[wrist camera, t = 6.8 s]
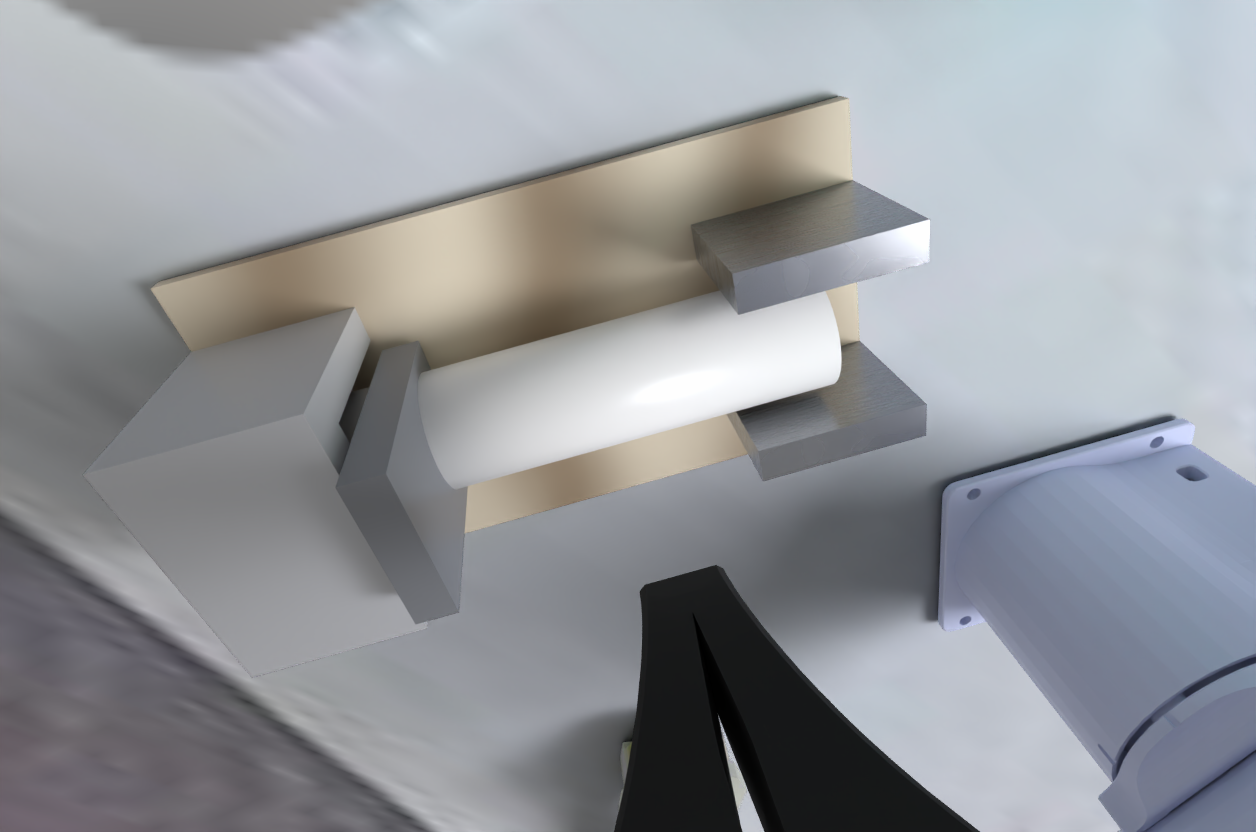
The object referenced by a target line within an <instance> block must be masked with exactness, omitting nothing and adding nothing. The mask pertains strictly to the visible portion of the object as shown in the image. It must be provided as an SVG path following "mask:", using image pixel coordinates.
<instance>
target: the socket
mask: <svg viewBox="0 0 1256 832" xmlns="http://www.w3.org/2000/svg"><path fill="white" fill-rule="evenodd" d="M370 341H371V340H370V338H369V336H368V334H367V332H366V330H365V328H364V325H363V323H362V321H361V319H360V317H359V315H358V313H357V311H356V309H355V307H353V308H350V309H346V310H342V311H339V312H335V313H331V314H328V315H324V316H320V317H317V318H313V319H309V320H306V321H302V322H298V323H295V324H291V325H287V326H284V327H280V328H277V329H273V330H269V331H266V332H262V333H258V334H255V335H251V336H247V337H244V338H240V339H236V340H233V341H229V342H225V343H222V344H218V345H215V346H211V347H207V348H204V349H200V350H196V351H193V352H191V353H190V354H189V355H188V356H187V357H186V358H185V359H184V361H183V362H182V363H181V364H180V365H179V366H178V367H177V368H176V370H175V371H174V372H173V373H172V374H171V375H170V376H169V378H168V379H167V380H166V381H165V382H164V383H163V384H162V385H161V387H160V388H159V389H158V390H157V391H156V392H155V393H154V395H153V396H152V397H151V398H150V399H149V400H148V401H147V402H146V404H145V405H144V406H143V407H142V408H141V409H140V410H139V411H138V413H137V414H136V415H135V416H134V417H133V418H132V419H131V421H130V422H129V423H128V424H127V425H126V426H125V427H124V428H123V430H122V431H121V432H120V433H119V434H118V435H117V436H116V437H115V439H114V440H113V441H112V442H111V443H110V444H109V445H108V447H107V448H106V449H105V450H104V451H103V452H102V453H101V454H100V456H99V457H98V458H97V459H96V460H95V461H94V462H93V463H92V465H91V466H90V467H89V468H88V469H87V470H86V471H85V473H84V474H83V477H84V478H85V479H86V480H87V481H88V483H89V484H90V485H91V486H92V487H93V488H94V490H95V491H96V492H97V493H98V494H99V496H100V497H101V498H102V499H103V500H104V502H105V503H106V504H107V505H108V506H109V508H110V509H111V510H112V511H113V512H114V514H115V515H116V516H117V517H118V518H119V520H120V521H121V522H122V523H123V524H124V526H125V527H126V528H127V529H128V530H129V532H130V533H131V534H132V535H133V536H134V538H135V539H136V540H137V541H138V542H139V544H140V545H141V546H142V547H143V548H144V549H145V551H146V552H147V553H148V554H149V555H150V557H151V558H152V559H153V560H154V561H155V563H156V564H157V565H158V566H159V567H160V569H161V570H162V571H163V572H164V573H165V575H166V576H167V577H168V578H169V579H170V581H171V582H172V583H173V584H174V585H175V587H176V588H177V589H178V590H179V591H180V593H181V594H182V595H183V596H184V597H185V599H186V600H187V601H188V602H189V603H190V605H191V606H192V607H193V608H194V609H195V610H196V612H197V613H198V614H199V615H200V616H201V618H202V619H203V620H204V621H205V622H206V624H207V625H208V626H209V627H210V628H211V630H212V631H213V632H214V633H215V634H216V636H217V637H218V638H219V639H220V640H221V642H222V643H223V644H224V645H225V646H226V648H227V649H228V650H229V651H230V652H231V654H232V655H233V656H234V657H235V658H236V660H237V661H238V662H239V663H240V664H241V665H242V667H243V668H244V669H245V670H246V671H247V673H248V674H249V675H250V676H251V677H252V678H254V677H257V676H261V675H264V674H268V673H271V672H275V671H278V670H282V669H286V668H289V667H293V666H296V665H300V664H303V663H307V662H310V661H314V660H317V659H321V658H325V657H328V656H332V655H335V654H339V653H342V652H346V651H349V650H353V649H356V648H360V647H364V646H367V645H371V644H374V643H378V642H381V641H385V640H388V639H392V638H395V637H399V636H402V635H406V634H410V633H413V632H417V631H420V630H424V629H427V626H428V621H427V622H423V623H419V624H415V623H414V621H413V619H412V618H411V616H410V614H409V612H408V611H407V609H406V607H405V606H404V604H403V602H402V601H401V599H400V597H399V595H398V594H397V592H396V590H395V589H394V587H393V585H392V584H391V582H390V580H389V578H388V577H387V575H386V573H385V572H384V570H383V568H382V567H381V565H380V563H379V561H378V560H377V558H376V556H375V555H374V553H373V551H372V550H371V548H370V546H369V544H368V543H367V541H366V539H365V538H364V536H363V534H362V533H361V531H360V529H359V527H358V526H357V524H356V522H355V521H354V519H353V517H352V516H351V514H350V512H349V510H348V509H347V507H346V505H345V504H344V502H343V500H342V498H341V497H340V495H339V493H338V492H337V490H336V488H335V487H336V484H337V481H338V478H339V475H340V472H341V469H342V466H343V464H344V461H345V458H346V455H347V452H348V449H349V446H350V443H349V441H348V439H347V438H346V436H345V434H344V432H343V430H342V428H341V427H340V425H339V422H340V419H341V416H342V414H343V411H344V409H345V406H346V403H347V401H348V398H349V396H350V393H351V390H352V388H353V385H354V383H355V380H356V377H357V375H358V372H359V370H360V367H361V364H362V362H363V359H364V357H365V354H366V351H367V349H368V346H369V344H370Z"/></svg>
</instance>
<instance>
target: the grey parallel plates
mask: <svg viewBox="0 0 1256 832" xmlns="http://www.w3.org/2000/svg"><path fill="white" fill-rule="evenodd" d="M691 230H692V236H693V242H694V247H695V253H696V259H697V261H698V262H699V264H700V265H701V266H702V268H703V269H704V270H705V272H706V273H707V274H708V275H709V277H710V278H711V279H712V281H713V282H714V283H715V285H716V286H717V287H718V289H719V290H720V291H721V293H722V294H723V295H724V297H725V298H726V299H727V301H728V302H729V303H730V305H731V306H732V307H733V309H734V310H735V311H736V312H737V314H738V315H740V314H744V313H747V312H751V311H755V310H758V309H762V308H766V307H769V306H773V305H776V304H780V303H784V302H787V301H791V300H794V299H798V298H802V297H805V296H809V295H812V294H816V293H820V292H823V291H827V290H831V289H834V288H838V287H841V286H845V285H849V284H852V283H856V282H859V281H863V280H867V279H870V278H874V277H878V276H881V275H885V274H888V273H892V272H896V271H899V270H903V269H906V268H910V267H914V266H917V265H921V264H924V263H928V262H929V238H930V219H928V218H926V217H924V216H922V215H920V214H918V213H916V212H914V211H912V210H910V209H908V208H906V207H904V206H902V205H900V204H898V203H896V202H895V201H893V200H891V199H889V198H887V197H885V196H883V195H881V194H879V193H877V192H875V191H873V190H871V189H869V188H867V187H865V186H863V185H861V184H859V183H857V182H855V181H853V180H851V181H848V182H844V183H840V184H837V185H833V186H830V187H826V188H822V189H819V190H815V191H811V192H808V193H804V194H800V195H797V196H793V197H789V198H786V199H782V200H779V201H775V202H771V203H768V204H764V205H760V206H757V207H753V208H749V209H746V210H742V211H738V212H735V213H731V214H727V215H724V216H720V217H717V218H713V219H709V220H706V221H702V222H698V223H695V224H691ZM926 410H927V404H926V403H925V402H924V401H923V400H922V399H921V398H919V397H918V396H917V395H916V394H915V393H914V392H913V391H912V390H911V389H910V388H909V387H908V386H907V385H906V384H905V383H904V382H903V381H902V380H900V379H899V378H898V377H897V376H896V375H895V374H894V373H893V372H892V371H891V370H890V369H889V368H888V367H887V366H886V365H885V364H884V363H883V362H881V361H880V360H879V359H878V358H877V357H876V356H875V355H874V354H873V353H872V352H871V351H870V350H869V349H868V348H867V347H866V346H865V345H864V344H862V343H861V342H860V341H857V342H853V343H850V344H846V345H843V346H841V372H840V376H839V378H838V380H837V382H836V383H835V384H832V385H829V386H825V387H821V388H818V389H814V390H811V391H807V392H804V393H800V394H796V395H793V396H789V397H786V398H782V399H778V400H775V401H771V402H768V403H764V404H761V405H757V406H753V407H750V408H746V409H743V410H739V411H735V412H732V413H728V414H727V416H728V418H729V420H730V422H731V424H732V425H733V427H734V429H735V431H736V433H737V435H738V436H739V438H740V440H741V442H742V444H743V446H744V447H745V449H746V451H747V453H748V455H749V457H750V458H751V460H752V462H753V464H754V466H755V468H756V469H757V471H758V473H759V475H760V477H761V479H762V480H763V481H766V480H769V479H773V478H776V477H780V476H783V475H787V474H791V473H794V472H798V471H801V470H805V469H808V468H812V467H815V466H819V465H823V464H826V463H830V462H833V461H837V460H840V459H844V458H847V457H851V456H855V455H858V454H862V453H865V452H869V451H872V450H876V449H880V448H883V447H887V446H890V445H894V444H897V443H901V442H904V441H908V440H912V439H915V438H919V437H922V436H926Z"/></svg>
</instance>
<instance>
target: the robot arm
mask: <svg viewBox="0 0 1256 832" xmlns="http://www.w3.org/2000/svg"><path fill="white" fill-rule="evenodd" d="M1194 432H1195V426H1194V425H1193V424H1192V423H1191V422H1189V421H1187V420H1185V419H1176V420H1173V421H1169V422H1166V423H1162V424H1159V425H1155V426H1152V427H1148V428H1144V429H1141V430H1137V431H1134V432H1130V433H1127V434H1123V435H1120V436H1116V437H1113V438H1109V439H1106V440H1102V441H1098V442H1095V443H1091V444H1088V445H1084V446H1081V447H1077V448H1074V449H1070V450H1067V451H1063V452H1059V453H1056V454H1052V455H1049V456H1045V457H1042V458H1038V459H1035V460H1031V461H1028V462H1024V463H1021V464H1017V465H1013V466H1010V467H1006V468H1003V469H999V470H996V471H992V472H989V473H985V474H982V475H978V476H974V477H971V478H967V479H964V480H960V481H957V482H954V483H952V484H950V485H949V486H947V487H946V489H945V490H944V492H943V496H942V523H941V551H940V579H939V607H938V622H939V625H940V626H941V627H942V629H943V630H945V631H955V630H958V629H962V628H965V627H969V626H972V625H976V624H979V623H983V622H987V623H988V625H989V626H990V627H991V628H992V630H993V631H994V632H995V633H996V635H997V636H998V637H999V639H1000V640H1001V641H1002V642H1003V644H1004V645H1005V646H1006V648H1007V649H1008V650H1009V651H1010V653H1011V654H1012V655H1013V657H1014V658H1015V659H1016V660H1017V662H1018V663H1019V664H1020V665H1021V667H1022V668H1023V669H1024V671H1025V672H1026V673H1027V674H1028V676H1029V677H1030V678H1031V680H1032V681H1033V682H1034V683H1035V685H1036V686H1037V687H1038V688H1039V690H1040V691H1041V692H1042V694H1043V695H1044V696H1045V697H1046V699H1047V700H1048V701H1049V703H1050V704H1051V705H1052V706H1053V708H1054V709H1055V710H1056V711H1057V713H1058V714H1059V715H1060V717H1061V718H1062V719H1063V720H1064V722H1065V723H1066V724H1067V726H1068V727H1069V728H1070V729H1071V731H1072V732H1073V733H1074V735H1075V736H1076V737H1077V738H1078V740H1079V741H1080V742H1081V743H1082V745H1083V746H1084V747H1085V749H1086V750H1087V751H1088V752H1089V754H1090V755H1091V756H1092V758H1093V759H1094V760H1095V761H1096V763H1097V764H1098V765H1099V766H1100V768H1101V769H1102V770H1103V772H1104V773H1105V774H1106V775H1107V777H1108V778H1109V779H1110V781H1111V782H1112V784H1111V785H1110V786H1109V787H1108V788H1107V789H1106V790H1105V791H1104V792H1103V793H1101V794H1100V795H1099V798H1098V799H1099V801H1100V802H1101V803H1102V805H1103V806H1104V807H1105V809H1106V810H1107V811H1108V813H1109V814H1110V815H1111V817H1112V818H1113V819H1114V821H1115V822H1116V823H1117V825H1118V826H1119V827H1120V829H1121V830H1119V831H1118V832H1256V486H1255V485H1254V484H1252V483H1251V482H1249V481H1248V480H1246V479H1245V478H1243V477H1241V476H1240V475H1238V474H1237V473H1235V472H1234V471H1232V470H1231V469H1229V468H1227V467H1226V466H1224V465H1223V464H1221V463H1220V462H1218V461H1216V460H1215V459H1213V458H1212V457H1210V456H1209V455H1207V454H1206V453H1204V452H1202V451H1201V450H1199V449H1198V448H1196V447H1195V446H1193V445H1191V443H1192V439H1193V436H1194ZM972 489H973V490H972ZM971 490H972V491H971ZM970 491H971V492H970ZM640 598H641V606H642V659H641V671H640V682H639V693H638V703H637V711H636V718H635V725H634V731H633V738H632V744H631V751H630V757H629V763H628V769H627V774H626V779H625V784H624V789H623V794H622V799H621V804H620V808H619V812H618V817H617V821H616V826H615V830H614V832H742V829H741V825H740V820H739V815H738V810H737V805H736V801H735V796H734V791H733V786H732V781H731V776H730V771H729V766H728V761H727V756H726V752H725V747H724V742H723V737H722V732H721V727H720V722H719V718H720V720H721V723H722V725H723V728H724V731H725V733H726V736H727V738H728V741H729V743H730V746H731V748H732V751H733V753H734V756H735V758H736V761H737V763H738V766H739V768H740V771H741V773H742V776H743V779H744V781H745V784H746V786H747V789H748V791H749V794H750V796H751V799H752V801H753V804H754V806H755V809H756V811H757V814H758V816H759V819H760V821H761V824H762V826H763V829H764V831H765V832H980V831H978V830H977V829H976V828H975V827H973V826H972V825H971V824H969V823H968V822H967V821H966V820H964V819H963V818H962V817H961V816H959V815H958V814H957V813H955V812H954V811H953V810H952V809H950V808H949V807H948V806H946V805H945V804H944V803H943V802H941V801H940V800H939V799H938V798H936V797H935V796H934V795H932V794H931V793H930V792H929V791H927V790H926V789H925V788H924V787H923V786H921V785H920V784H919V783H918V782H917V781H916V780H914V779H913V778H912V777H911V776H910V775H909V774H907V773H906V772H905V771H904V770H903V769H902V768H900V767H899V766H898V765H897V764H896V763H895V762H893V761H892V760H891V759H890V758H889V757H888V756H887V755H886V754H885V753H883V752H882V751H881V750H880V749H879V748H878V747H877V746H876V745H875V744H874V743H872V742H871V741H870V740H869V739H868V738H867V737H866V736H865V735H864V734H863V733H862V732H860V731H859V730H858V729H857V728H856V727H855V726H854V725H853V724H852V723H851V722H850V721H849V720H848V719H847V718H846V717H845V716H844V715H843V714H842V713H841V712H840V711H839V710H838V709H837V708H836V707H835V706H834V705H833V704H832V703H831V702H830V701H829V700H828V699H827V698H826V697H825V696H824V695H823V694H822V693H821V692H820V691H819V690H818V689H817V688H816V687H815V686H814V685H813V683H812V682H811V681H810V680H809V679H808V678H807V677H806V676H805V675H804V674H803V673H802V672H801V671H800V669H799V668H798V667H797V666H796V665H795V664H794V663H793V661H792V660H791V659H790V658H789V657H788V656H787V655H786V653H785V652H784V651H783V650H782V649H781V648H780V646H779V645H778V644H777V643H776V642H775V641H774V640H773V638H772V637H771V636H770V635H769V633H768V632H767V631H766V630H765V629H764V627H763V626H762V625H761V623H760V622H759V621H758V620H757V618H756V617H755V616H754V614H753V613H752V612H751V610H750V609H749V608H748V606H747V605H746V604H745V602H744V601H743V599H742V598H741V597H740V595H739V594H738V592H737V591H736V589H735V588H734V586H733V584H732V583H731V581H730V580H729V578H728V576H727V575H726V573H725V571H724V569H723V568H721V567H719V566H717V565H714V566H711V567H707V568H704V569H700V570H696V571H693V572H689V573H686V574H682V575H679V576H675V577H671V578H668V579H664V580H661V581H657V582H654V583H650V584H646V585H644V587H643V588H642V589H641V590H640ZM718 715H719V717H718Z"/></svg>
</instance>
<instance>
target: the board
mask: <svg viewBox="0 0 1256 832" xmlns="http://www.w3.org/2000/svg"><path fill="white" fill-rule="evenodd" d="M851 180H853V178H852V155H851V131H850V108H849V98H846V97H842V96H839V97H836V98H832V99H828V100H825V101H821V102H817V103H814V104H810V105H806V106H803V107H799V108H795V109H792V110H788V111H784V112H781V113H777V114H773V115H770V116H766V117H762V118H759V119H755V120H751V121H748V122H744V123H740V124H737V125H733V126H729V127H726V128H722V129H718V130H715V131H711V132H707V133H703V134H700V135H696V136H692V137H689V138H685V139H681V140H678V141H674V142H670V143H667V144H663V145H659V146H656V147H652V148H648V149H645V150H641V151H637V152H634V153H630V154H626V155H623V156H619V157H615V158H612V159H608V160H604V161H601V162H597V163H593V164H590V165H586V166H582V167H579V168H575V169H571V170H568V171H564V172H560V173H557V174H553V175H549V176H545V177H542V178H538V179H534V180H531V181H527V182H523V183H520V184H516V185H512V186H509V187H505V188H501V189H498V190H494V191H490V192H487V193H483V194H479V195H476V196H472V197H468V198H465V199H461V200H457V201H454V202H450V203H446V204H443V205H439V206H435V207H432V208H428V209H424V210H421V211H417V212H413V213H410V214H406V215H402V216H399V217H395V218H391V219H388V220H384V221H380V222H376V223H373V224H369V225H365V226H362V227H358V228H354V229H351V230H347V231H343V232H340V233H336V234H332V235H329V236H325V237H321V238H318V239H314V240H310V241H307V242H303V243H299V244H296V245H292V246H288V247H285V248H281V249H277V250H274V251H270V252H266V253H263V254H259V255H255V256H252V257H248V258H244V259H241V260H237V261H233V262H230V263H226V264H222V265H218V266H215V267H211V268H207V269H204V270H200V271H196V272H193V273H189V274H185V275H182V276H178V277H174V278H171V279H167V280H163V281H160V282H158V283H157V284H156V285H154V286H153V287H152V288H151V290H152V292H153V294H154V295H155V297H156V298H157V300H158V301H159V303H160V304H161V306H162V307H163V309H164V311H165V312H166V314H167V315H168V317H169V318H170V320H171V321H172V323H173V325H174V326H175V328H176V329H177V331H178V332H179V334H180V335H181V337H182V338H183V340H184V342H185V343H186V345H187V346H188V348H189V349H190V351H191V352H193V351H196V350H200V349H204V348H207V347H211V346H215V345H218V344H222V343H225V342H229V341H233V340H236V339H240V338H244V337H247V336H251V335H255V334H258V333H262V332H266V331H269V330H273V329H277V328H280V327H284V326H287V325H291V324H295V323H298V322H302V321H306V320H309V319H313V318H317V317H320V316H324V315H328V314H331V313H335V312H339V311H342V310H346V309H350V308H353V307H355V309H356V311H357V313H358V315H359V317H360V319H361V321H362V323H363V325H364V328H365V330H366V332H367V334H368V336H369V338H370V340H371V341H370V344H369V346H368V349H367V351H366V354H365V357H364V359H363V362H362V364H361V367H360V370H359V372H358V375H357V377H356V380H355V383H354V385H353V388H352V390H351V392H353V391H357V390H360V389H364V388H368V387H370V384H371V381H372V379H373V376H374V373H375V370H376V367H377V364H378V361H379V358H380V355H381V352H382V350H385V349H389V348H393V347H396V346H400V345H404V344H407V343H411V342H415V341H419V343H420V345H421V347H422V350H423V352H424V354H425V357H426V359H427V361H428V364H429V366H430V368H431V370H433V369H436V368H440V367H444V366H447V365H451V364H454V363H458V362H462V361H465V360H469V359H473V358H476V357H480V356H483V355H487V354H491V353H494V352H498V351H502V350H505V349H509V348H512V347H516V346H520V345H523V344H527V343H531V342H534V341H538V340H541V339H545V338H549V337H552V336H556V335H560V334H563V333H567V332H570V331H574V330H578V329H581V328H585V327H589V326H592V325H596V324H599V323H603V322H607V321H610V320H614V319H617V318H621V317H625V316H628V315H632V314H636V313H639V312H643V311H646V310H650V309H654V308H657V307H661V306H665V305H668V304H672V303H675V302H679V301H683V300H686V299H690V298H694V297H697V296H701V295H704V294H708V293H712V292H715V291H719V289H718V287H717V286H716V285H715V283H714V282H713V281H712V279H711V278H710V277H709V275H708V274H707V273H706V272H705V270H704V269H703V268H702V266H701V265H700V264H699V262H698V261H697V259H696V253H695V247H694V242H693V236H692V230H691V224H695V223H698V222H702V221H706V220H709V219H713V218H717V217H720V216H724V215H727V214H731V213H735V212H738V211H742V210H746V209H749V208H753V207H757V206H760V205H764V204H768V203H771V202H775V201H779V200H782V199H786V198H789V197H793V196H797V195H800V194H804V193H808V192H811V191H815V190H819V189H822V188H826V187H830V186H833V185H837V184H840V183H844V182H848V181H851ZM826 294H827V296H828V298H829V301H830V303H831V306H832V309H833V312H834V316H835V319H836V323H837V327H838V332H839V337H840V344H841V346H843V345H846V344H850V343H853V342H857V341H860V339H859V316H858V293H857V282H856V283H852V284H849V285H845V286H841V287H838V288H834V289H831V290H827V291H826ZM747 454H748V453H747V451H746V449H745V447H744V446H743V444H742V442H741V440H740V438H739V436H738V435H737V433H736V431H735V429H734V427H733V425H732V424H731V422H730V420H729V418H728V416H727V414H725V415H721V416H718V417H714V418H710V419H707V420H703V421H700V422H696V423H692V424H689V425H685V426H682V427H678V428H675V429H671V430H667V431H664V432H660V433H657V434H653V435H650V436H646V437H642V438H639V439H635V440H632V441H628V442H624V443H621V444H617V445H614V446H610V447H607V448H603V449H599V450H596V451H592V452H589V453H585V454H581V455H578V456H574V457H571V458H567V459H564V460H560V461H556V462H553V463H549V464H546V465H542V466H538V467H535V468H531V469H528V470H524V471H521V472H517V473H513V474H510V475H506V476H503V477H499V478H495V479H492V480H488V481H485V482H481V483H478V484H474V485H470V486H468V490H467V505H466V519H465V533H468V532H472V531H476V530H479V529H483V528H486V527H490V526H493V525H497V524H501V523H504V522H508V521H511V520H515V519H518V518H522V517H526V516H529V515H533V514H536V513H540V512H543V511H547V510H550V509H554V508H558V507H561V506H565V505H568V504H572V503H575V502H579V501H583V500H586V499H590V498H593V497H597V496H600V495H604V494H608V493H611V492H615V491H618V490H622V489H625V488H629V487H633V486H636V485H640V484H643V483H647V482H650V481H654V480H658V479H661V478H665V477H668V476H672V475H675V474H679V473H683V472H686V471H690V470H693V469H697V468H700V467H704V466H707V465H711V464H715V463H718V462H722V461H725V460H729V459H732V458H736V457H740V456H743V455H747Z"/></svg>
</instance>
